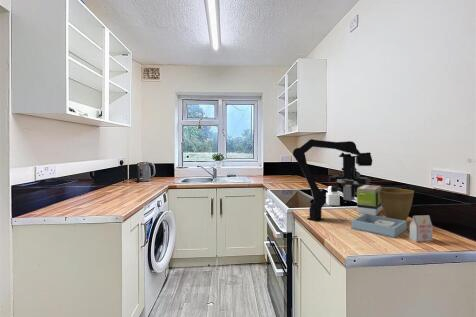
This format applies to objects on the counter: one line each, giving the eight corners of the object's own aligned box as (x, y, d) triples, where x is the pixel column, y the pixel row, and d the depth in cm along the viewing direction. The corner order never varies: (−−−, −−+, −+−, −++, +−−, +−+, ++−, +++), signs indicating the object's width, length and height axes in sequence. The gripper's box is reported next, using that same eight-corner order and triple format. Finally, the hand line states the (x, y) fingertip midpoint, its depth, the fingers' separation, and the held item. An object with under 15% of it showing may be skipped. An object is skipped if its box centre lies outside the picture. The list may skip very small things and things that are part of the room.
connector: (351, 200, 133) (351, 185, 133) (343, 199, 136) (343, 185, 136) (354, 199, 136) (354, 185, 135) (346, 198, 139) (346, 184, 138)
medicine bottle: (336, 203, 178) (336, 185, 178) (339, 205, 171) (339, 187, 170) (325, 203, 179) (325, 185, 178) (328, 205, 172) (328, 187, 171)
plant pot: (407, 219, 137) (407, 188, 137) (418, 227, 123) (419, 193, 122) (375, 217, 141) (375, 187, 141) (382, 225, 127) (383, 192, 126)
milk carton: (409, 239, 109) (409, 214, 108) (424, 238, 109) (425, 214, 109) (416, 242, 105) (416, 217, 104) (432, 241, 106) (432, 216, 105)
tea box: (363, 208, 163) (363, 184, 162) (382, 210, 156) (382, 185, 156) (356, 213, 151) (356, 187, 150) (376, 216, 145) (376, 189, 144)
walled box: (394, 238, 110) (394, 228, 109) (351, 228, 123) (351, 220, 123) (406, 229, 120) (406, 220, 120) (365, 221, 134) (366, 213, 134)
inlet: (390, 232, 115) (390, 225, 115) (373, 228, 120) (373, 222, 120) (395, 229, 120) (395, 222, 119) (379, 225, 125) (379, 219, 124)
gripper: (374, 165, 133) (374, 196, 134) (339, 164, 147) (339, 192, 148) (365, 167, 126) (365, 199, 127) (328, 165, 140) (328, 195, 141)
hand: (348, 196), depth 136 cm, fingers closed on connector, 4 cm apart
